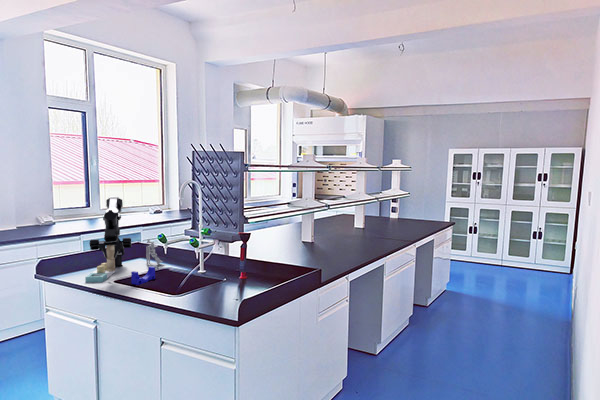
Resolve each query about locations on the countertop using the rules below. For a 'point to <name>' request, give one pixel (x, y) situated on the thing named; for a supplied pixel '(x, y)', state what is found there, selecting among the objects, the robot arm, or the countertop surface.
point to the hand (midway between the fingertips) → (110, 258)
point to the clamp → (152, 254)
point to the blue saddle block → (148, 276)
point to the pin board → (99, 274)
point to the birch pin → (110, 258)
